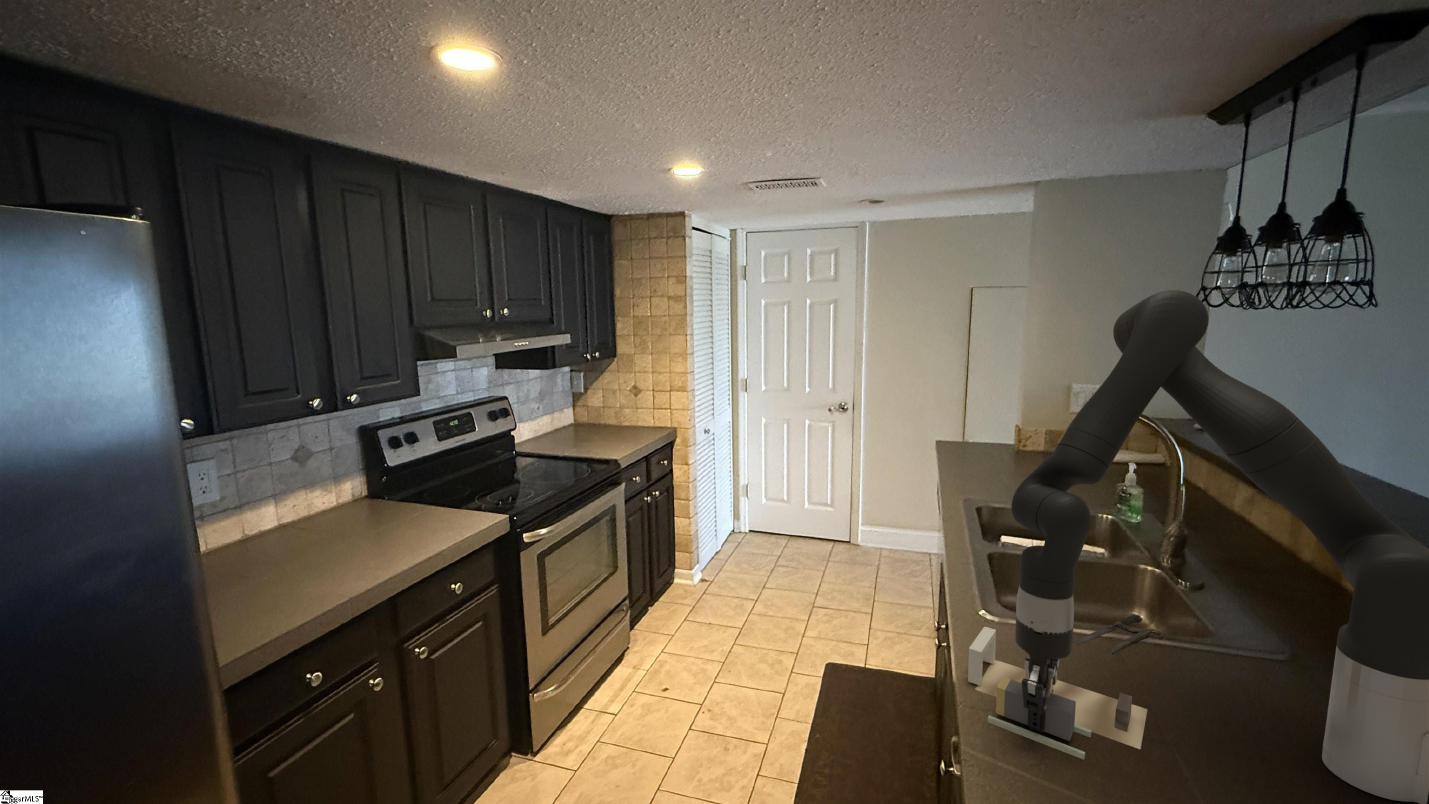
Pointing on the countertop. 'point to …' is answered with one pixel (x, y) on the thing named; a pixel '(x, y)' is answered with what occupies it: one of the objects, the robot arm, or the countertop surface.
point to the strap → (981, 654)
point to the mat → (1041, 738)
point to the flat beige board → (1083, 706)
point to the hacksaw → (1122, 623)
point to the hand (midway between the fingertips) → (1038, 721)
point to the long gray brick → (1012, 707)
